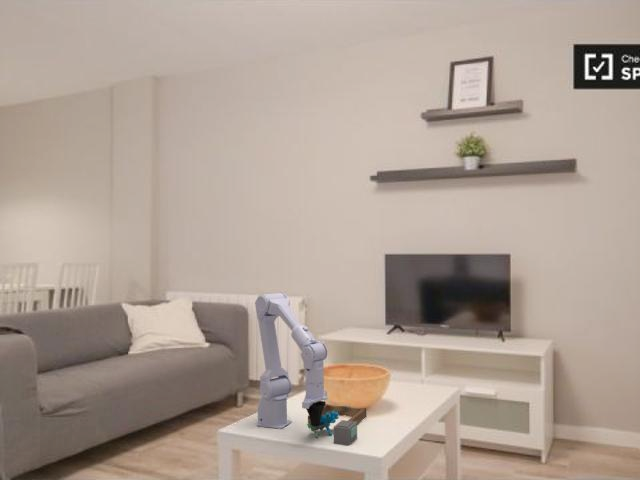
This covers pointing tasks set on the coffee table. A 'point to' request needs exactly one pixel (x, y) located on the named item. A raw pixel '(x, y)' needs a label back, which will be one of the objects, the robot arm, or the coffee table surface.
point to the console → (345, 432)
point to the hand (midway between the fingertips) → (315, 425)
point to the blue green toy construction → (324, 422)
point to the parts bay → (345, 412)
